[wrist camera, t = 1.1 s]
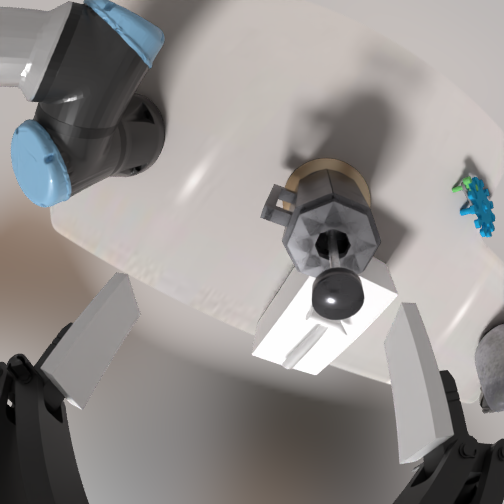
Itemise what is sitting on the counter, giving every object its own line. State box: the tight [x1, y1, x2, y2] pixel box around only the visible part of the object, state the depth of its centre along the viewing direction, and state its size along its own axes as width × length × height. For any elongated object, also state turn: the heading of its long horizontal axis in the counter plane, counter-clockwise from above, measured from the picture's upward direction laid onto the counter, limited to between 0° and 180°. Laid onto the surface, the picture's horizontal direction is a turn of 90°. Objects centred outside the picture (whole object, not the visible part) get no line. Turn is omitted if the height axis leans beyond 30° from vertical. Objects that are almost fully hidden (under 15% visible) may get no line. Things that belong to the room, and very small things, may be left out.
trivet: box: [283, 158, 370, 211], centre depth 42 cm, size 14×14×1 cm
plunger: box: [312, 228, 364, 320], centre depth 27 cm, size 8×8×14 cm
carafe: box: [260, 168, 381, 278], centre depth 35 cm, size 14×11×14 cm
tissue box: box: [252, 257, 398, 375], centre depth 47 cm, size 14×25×11 cm, turn 157°
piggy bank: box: [479, 387, 495, 413], centre depth 51 cm, size 11×15×12 cm
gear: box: [452, 176, 495, 237], centre depth 34 cm, size 11×6×10 cm
